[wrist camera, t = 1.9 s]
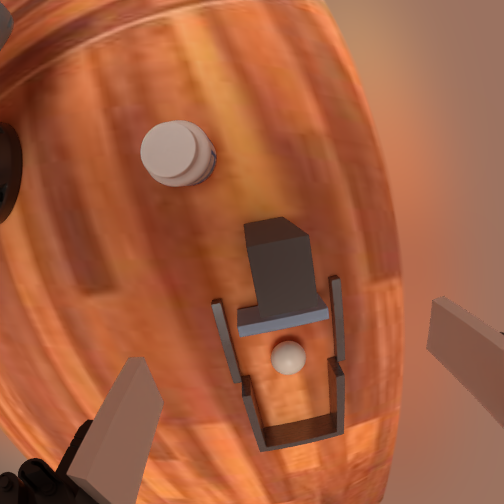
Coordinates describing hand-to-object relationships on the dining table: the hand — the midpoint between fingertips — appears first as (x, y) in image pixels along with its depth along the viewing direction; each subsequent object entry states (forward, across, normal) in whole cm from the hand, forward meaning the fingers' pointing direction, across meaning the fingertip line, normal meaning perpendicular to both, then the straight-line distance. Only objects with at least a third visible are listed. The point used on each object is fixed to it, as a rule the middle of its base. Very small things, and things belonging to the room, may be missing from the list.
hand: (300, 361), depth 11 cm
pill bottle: (+19, -6, +11) cm, 23 cm away
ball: (+17, +1, -12) cm, 21 cm away
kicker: (+19, +1, -1) cm, 19 cm away
